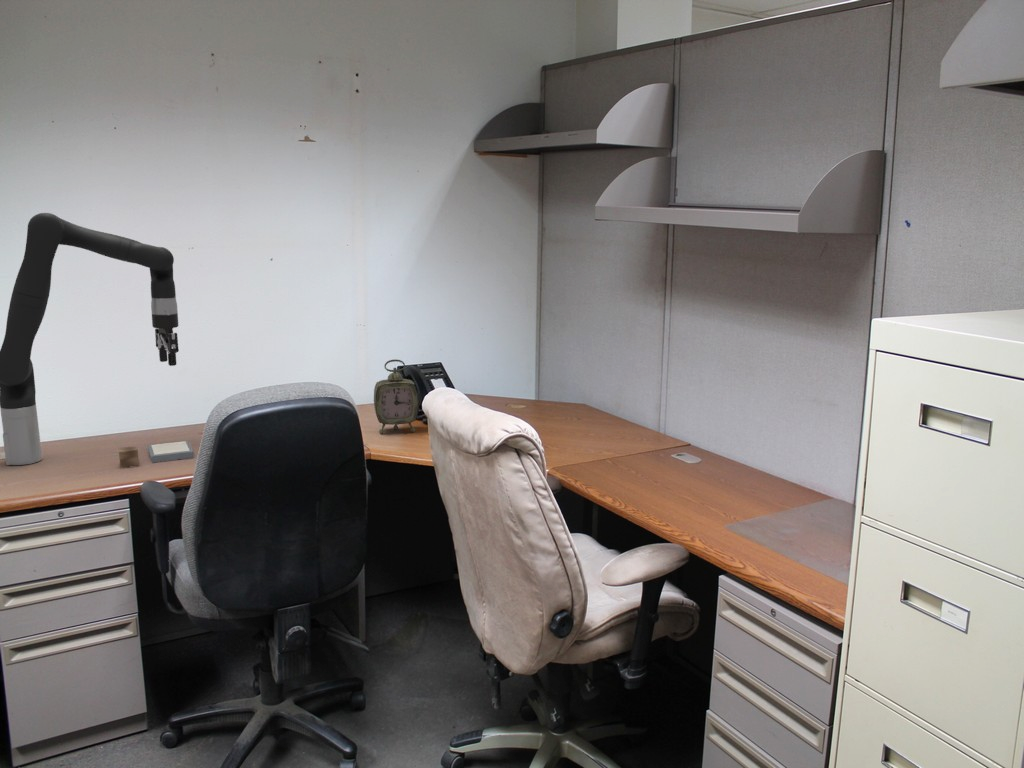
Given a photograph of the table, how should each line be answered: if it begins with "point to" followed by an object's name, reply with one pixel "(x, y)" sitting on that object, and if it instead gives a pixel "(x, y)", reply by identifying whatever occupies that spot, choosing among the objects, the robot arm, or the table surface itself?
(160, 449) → the board
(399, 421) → the tabletop clock
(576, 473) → the table surface
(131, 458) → the cube
